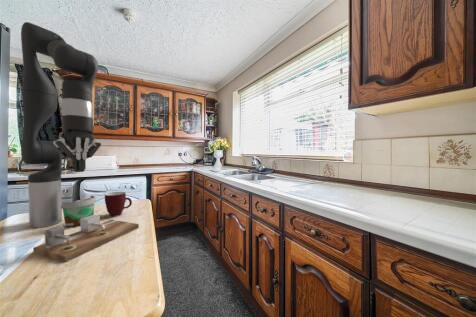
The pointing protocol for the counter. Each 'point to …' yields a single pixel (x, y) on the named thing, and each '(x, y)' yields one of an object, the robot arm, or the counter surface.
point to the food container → (77, 211)
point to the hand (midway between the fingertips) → (79, 171)
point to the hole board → (80, 240)
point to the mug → (116, 202)
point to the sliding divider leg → (90, 223)
